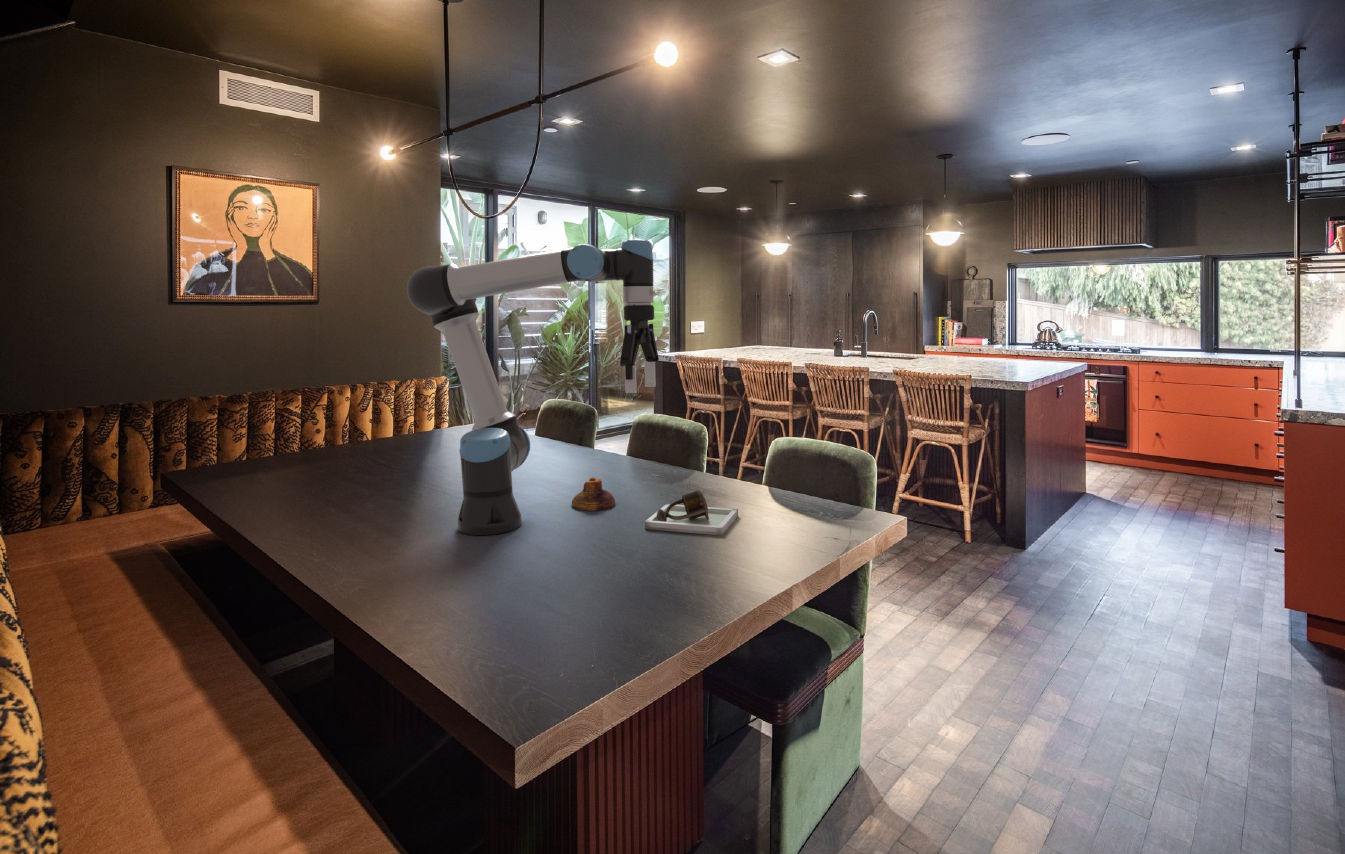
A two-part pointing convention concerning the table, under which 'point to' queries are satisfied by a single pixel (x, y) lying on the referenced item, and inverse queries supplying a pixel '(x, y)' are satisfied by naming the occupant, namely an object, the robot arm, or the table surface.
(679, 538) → the table surface
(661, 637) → the table surface
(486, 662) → the table surface
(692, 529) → the tray
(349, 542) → the table surface
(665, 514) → the brown piece
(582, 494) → the bell
